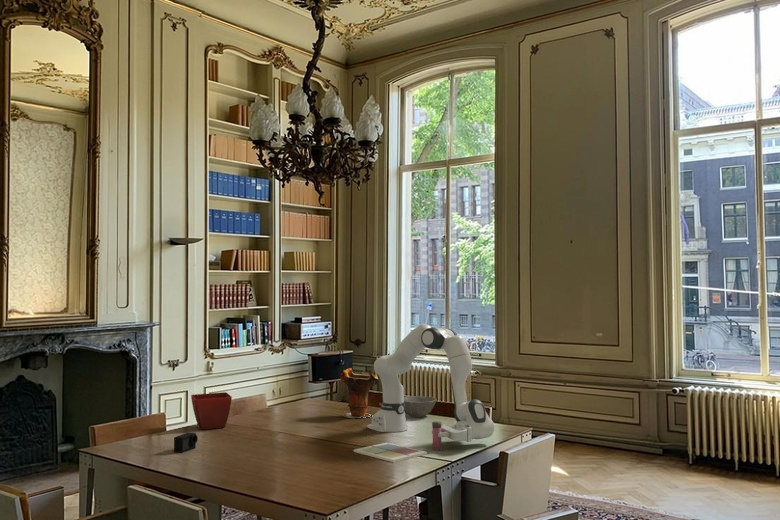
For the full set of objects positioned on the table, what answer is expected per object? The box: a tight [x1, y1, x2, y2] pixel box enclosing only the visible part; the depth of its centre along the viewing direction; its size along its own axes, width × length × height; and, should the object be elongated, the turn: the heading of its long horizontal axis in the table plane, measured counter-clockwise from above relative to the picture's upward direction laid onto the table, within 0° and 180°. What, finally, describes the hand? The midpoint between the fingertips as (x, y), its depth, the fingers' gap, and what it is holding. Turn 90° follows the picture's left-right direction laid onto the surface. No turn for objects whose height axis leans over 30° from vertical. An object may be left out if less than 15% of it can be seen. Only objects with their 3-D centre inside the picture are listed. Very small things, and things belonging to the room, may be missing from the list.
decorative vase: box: [339, 367, 379, 419], centre depth 373 cm, size 20×22×27 cm
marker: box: [431, 421, 443, 451], centre depth 289 cm, size 4×4×12 cm
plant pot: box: [190, 391, 233, 430], centre depth 344 cm, size 19×19×17 cm
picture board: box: [353, 442, 428, 463], centre depth 282 cm, size 26×20×1 cm
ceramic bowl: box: [404, 395, 438, 418], centre depth 371 cm, size 22×23×10 cm
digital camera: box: [173, 432, 199, 454], centre depth 291 cm, size 10×5×7 cm, turn 162°
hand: (435, 433), depth 289 cm, fingers closed on marker, 4 cm apart
